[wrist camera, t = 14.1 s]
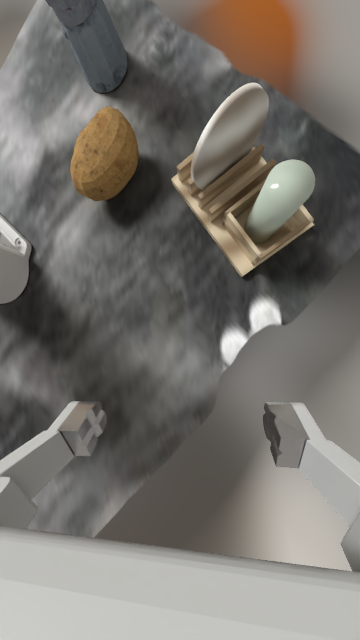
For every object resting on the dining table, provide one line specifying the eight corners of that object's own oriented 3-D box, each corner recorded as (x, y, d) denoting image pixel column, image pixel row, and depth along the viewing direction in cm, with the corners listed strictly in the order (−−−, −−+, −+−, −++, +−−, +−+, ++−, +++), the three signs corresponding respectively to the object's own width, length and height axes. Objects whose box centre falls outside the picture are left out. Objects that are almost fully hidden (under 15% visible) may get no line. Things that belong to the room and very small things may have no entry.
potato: (79, 197, 36) (44, 165, 29) (117, 134, 35) (92, 82, 27) (115, 224, 36) (90, 198, 28) (156, 160, 34) (142, 114, 26)
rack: (172, 183, 34) (152, 102, 21) (235, 130, 32) (256, 5, 19) (241, 277, 33) (266, 254, 20) (309, 228, 31) (386, 167, 18)
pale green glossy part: (237, 226, 31) (256, 181, 21) (263, 206, 31) (296, 149, 20) (255, 249, 31) (283, 217, 20) (281, 230, 31) (325, 186, 20)
